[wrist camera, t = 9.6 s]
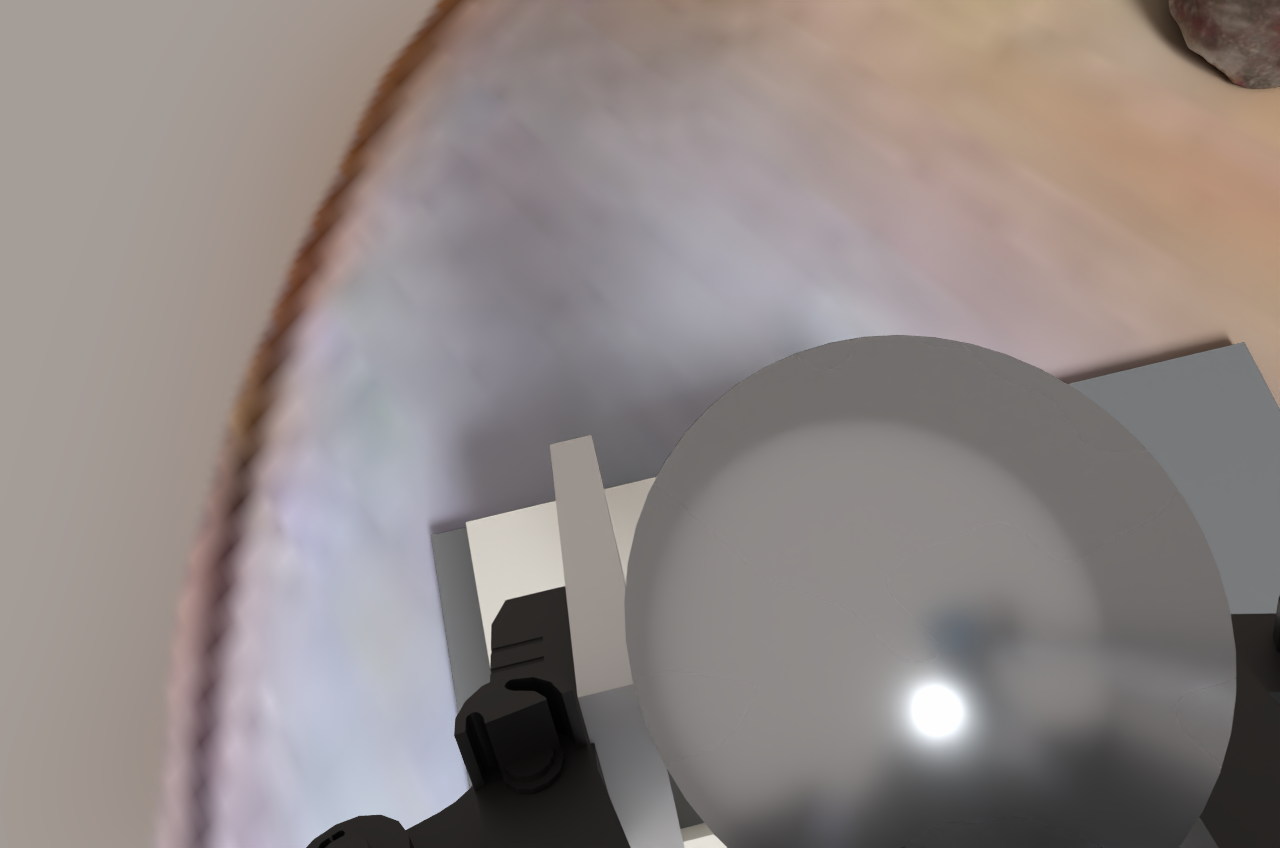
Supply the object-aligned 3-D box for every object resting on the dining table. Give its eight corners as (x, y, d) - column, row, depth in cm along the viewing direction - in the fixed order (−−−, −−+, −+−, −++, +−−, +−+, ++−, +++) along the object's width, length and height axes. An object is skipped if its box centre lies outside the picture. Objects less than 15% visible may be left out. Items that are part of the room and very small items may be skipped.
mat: (1236, 347, 32) (1244, 341, 32) (1477, 809, 27) (1491, 810, 26) (434, 538, 31) (430, 535, 31) (515, 1063, 26) (512, 1069, 25)
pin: (807, 590, 20) (1082, 282, 7) (865, 776, 18) (1356, 848, 5) (635, 634, 20) (567, 406, 6) (681, 825, 18) (714, 1030, 5)
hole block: (881, 456, 31) (909, 416, 27) (1033, 891, 26) (1092, 915, 22) (492, 549, 30) (465, 522, 27) (574, 1011, 26) (555, 1057, 22)
